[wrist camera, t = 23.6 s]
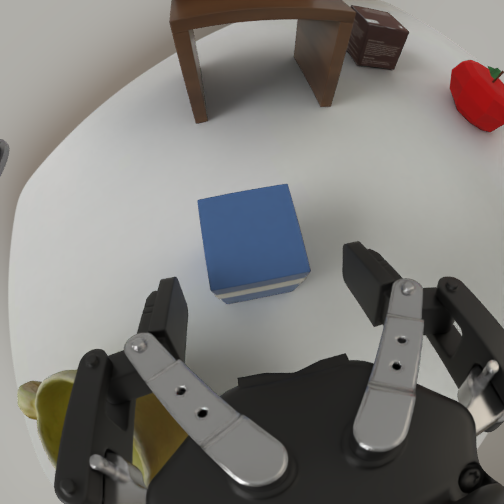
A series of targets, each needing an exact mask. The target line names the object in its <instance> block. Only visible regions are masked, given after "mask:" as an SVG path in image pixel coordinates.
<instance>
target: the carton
mask: <svg viewBox="0 0 504 504" xmlns="http://www.w3.org/2000/svg"><path fill="white" fill-rule="evenodd" d="M198 209H199V217H200V224H201V231H202V238H203V245H204V252H205V258H206V265H207V271H208V278H209V284H210V290H211V291H212V292H213V293H214V295H215V296H216V297H217V298H218V299H221V300H222V301H223V302H225V303H226V304H230V303H236V302H241V301H246V300H251V299H257V298H262V297H267V296H272V295H276V294H281V293H286V292H291V291H293V290H294V289H295V288H296V287H297V286H298V285H299V284H300V283H302V282H303V281H304V280H305V279H306V276H307V275H308V273H309V272H310V271H311V270H310V266H309V262H308V258H307V254H306V250H305V246H304V242H303V238H302V234H301V231H300V227H299V223H298V219H297V216H296V212H295V208H294V205H293V201H292V198H291V194H290V191H289V187H288V184H282V185H276V186H270V187H264V188H258V189H252V190H247V191H241V192H236V193H230V194H225V195H220V196H215V197H210V198H205V199H200V200H198Z"/></svg>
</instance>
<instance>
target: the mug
mask: <svg viewBox="0 0 504 504" xmlns="http://www.w3.org/2000/svg"><path fill="white" fill-rule="evenodd" d="M76 373H77V370H66V371H61V372H58V373H56V374H53V375H51V376H50V377H48V378H46V379H45V380H44V381H43V382H38V381H30V382H27V383H25V384H23V385H21V386H20V387H19V389H18V405H19V407H20V409H21V411H22V412H23V413H24V414H25V415H26V416H27V417H29V418H31V419H35V420H37V428H38V435H39V438H40V440H41V442H42V445H43V448H44V450H45V452H46V454H47V455H48V459H49V460H50V462H51V463H52V465H53V466H54V468H55V469H56V465H57V458H58V452H59V446H60V440H61V435H62V430H63V425H64V420H65V416H66V411H67V407H68V403H69V399H70V395H71V391H72V387H73V384H74V380H75V377H76ZM187 436H188V434H187V433H186V432H185V431H184V430H183V429H182V428H181V426H180V425H179V424H178V423H177V422H176V421H175V419H174V418H173V417H172V416H171V415H170V414H169V412H168V411H167V410H166V409H165V408H164V406H163V405H162V404H161V403H160V401H159V400H158V399H157V398H156V396H155V395H154V394H153V393H151V394H148V395H145V396H142V397H139V398H137V399H136V407H135V419H134V436H133V463H132V464H133V465H135V466H136V467H137V468H139V470H140V471H141V473H142V475H143V480H144V483H145V485H146V487H147V488H148V486H149V484H150V482H151V480H152V479H153V478H154V476H155V475H156V474H157V473H158V472H159V470H160V469H161V468H162V467H163V466H164V465H165V463H166V462H167V461H168V460H169V459H170V457H171V456H172V455H173V454H174V452H175V451H176V450H177V449H178V448H179V446H180V445H181V444H182V443H183V441H184V440H185V439H186V438H187Z"/></svg>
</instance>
